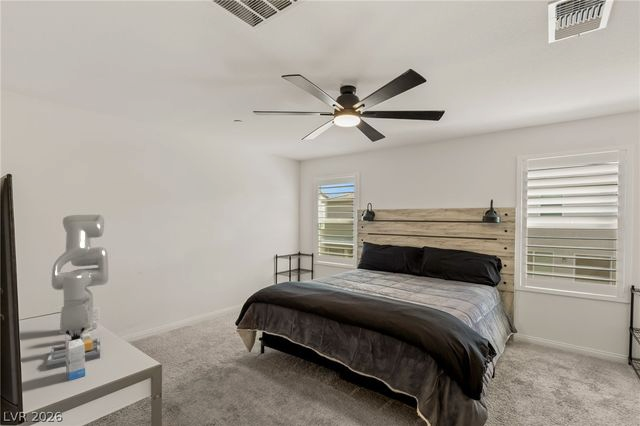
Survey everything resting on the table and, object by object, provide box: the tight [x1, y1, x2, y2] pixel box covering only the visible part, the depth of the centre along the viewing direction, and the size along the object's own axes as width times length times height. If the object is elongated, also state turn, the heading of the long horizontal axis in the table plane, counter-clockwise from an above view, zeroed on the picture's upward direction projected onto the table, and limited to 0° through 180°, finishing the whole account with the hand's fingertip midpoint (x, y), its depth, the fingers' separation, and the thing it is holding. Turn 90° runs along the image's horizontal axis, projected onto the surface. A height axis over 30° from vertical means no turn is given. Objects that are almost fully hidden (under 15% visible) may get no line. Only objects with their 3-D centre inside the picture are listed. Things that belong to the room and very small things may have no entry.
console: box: [45, 337, 101, 371], centre depth 135 cm, size 20×17×3 cm
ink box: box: [64, 334, 86, 381], centre depth 119 cm, size 9×5×15 cm, turn 45°
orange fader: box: [84, 338, 93, 352], centre depth 134 cm, size 4×3×4 cm, turn 35°
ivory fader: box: [82, 332, 91, 343], centre depth 141 cm, size 4×3×4 cm, turn 35°
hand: (75, 344), depth 139 cm, fingers closed
